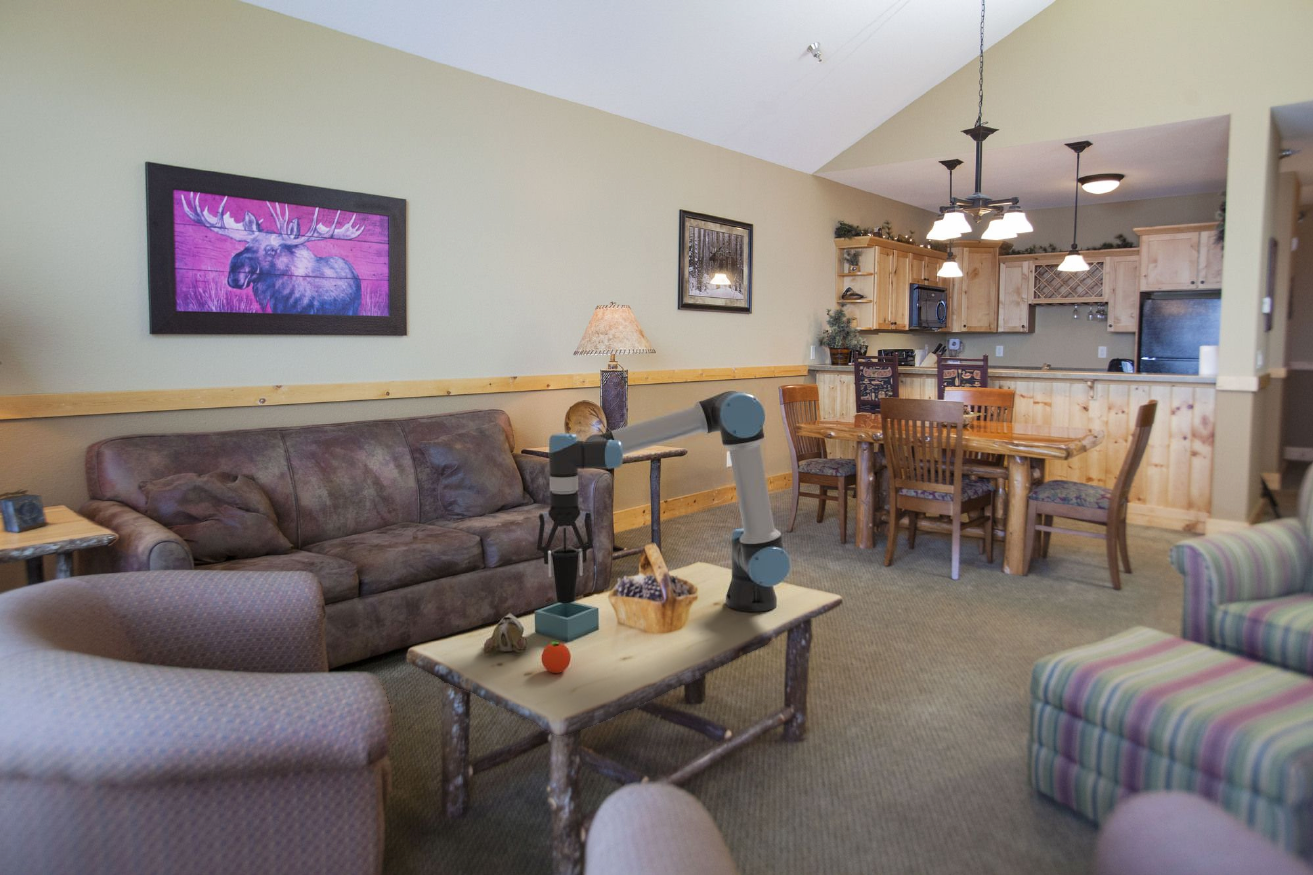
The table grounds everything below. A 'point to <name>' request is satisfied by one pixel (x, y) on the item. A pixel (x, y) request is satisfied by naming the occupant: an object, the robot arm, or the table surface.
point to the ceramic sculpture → (506, 636)
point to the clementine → (556, 657)
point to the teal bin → (566, 620)
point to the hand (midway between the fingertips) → (565, 574)
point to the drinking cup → (565, 571)
